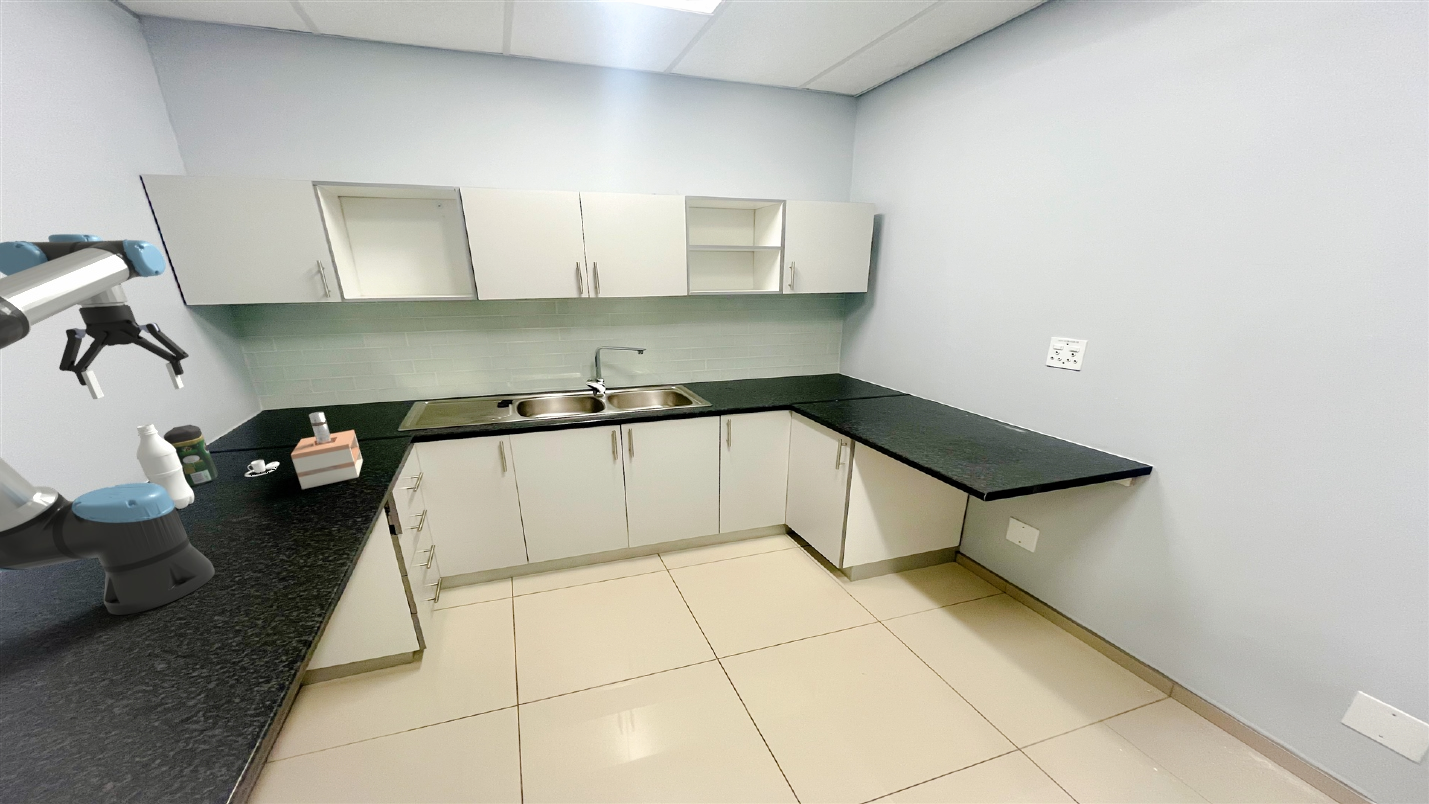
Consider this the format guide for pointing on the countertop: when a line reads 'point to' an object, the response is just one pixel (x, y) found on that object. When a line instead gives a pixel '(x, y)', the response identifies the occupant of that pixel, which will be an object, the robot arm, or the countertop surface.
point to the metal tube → (320, 428)
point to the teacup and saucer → (261, 467)
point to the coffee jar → (192, 454)
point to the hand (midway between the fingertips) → (140, 393)
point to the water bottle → (163, 466)
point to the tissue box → (327, 460)
